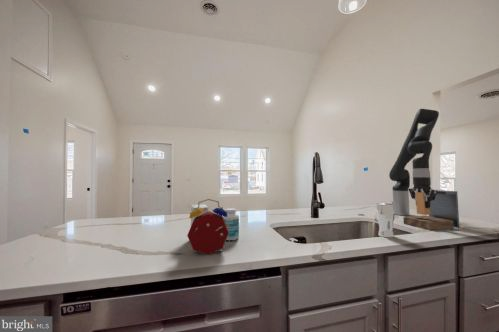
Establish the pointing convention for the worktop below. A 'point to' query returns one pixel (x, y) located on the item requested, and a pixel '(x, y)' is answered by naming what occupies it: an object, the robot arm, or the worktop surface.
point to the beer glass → (385, 219)
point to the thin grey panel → (445, 206)
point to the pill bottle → (232, 224)
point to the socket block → (428, 222)
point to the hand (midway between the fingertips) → (423, 207)
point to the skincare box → (198, 208)
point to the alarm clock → (208, 230)
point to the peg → (421, 204)
